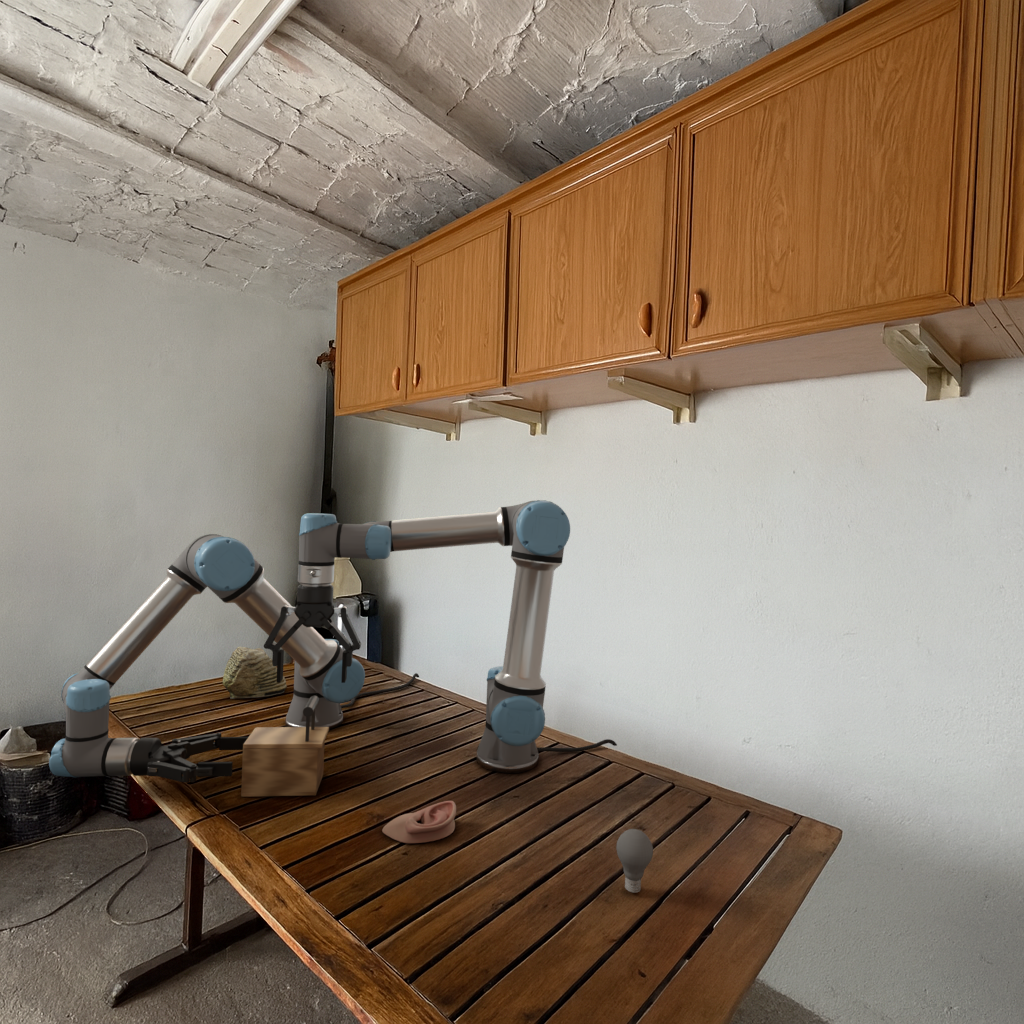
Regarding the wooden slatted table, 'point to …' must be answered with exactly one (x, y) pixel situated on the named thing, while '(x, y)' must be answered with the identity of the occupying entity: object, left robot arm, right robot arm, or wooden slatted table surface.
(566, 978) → the wooden slatted table surface
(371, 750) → the wooden slatted table surface
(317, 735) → the lid
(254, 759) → the chest
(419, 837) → the anatomical model
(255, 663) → the fossil
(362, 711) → the wooden slatted table surface
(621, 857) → the light bulb
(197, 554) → the left robot arm
